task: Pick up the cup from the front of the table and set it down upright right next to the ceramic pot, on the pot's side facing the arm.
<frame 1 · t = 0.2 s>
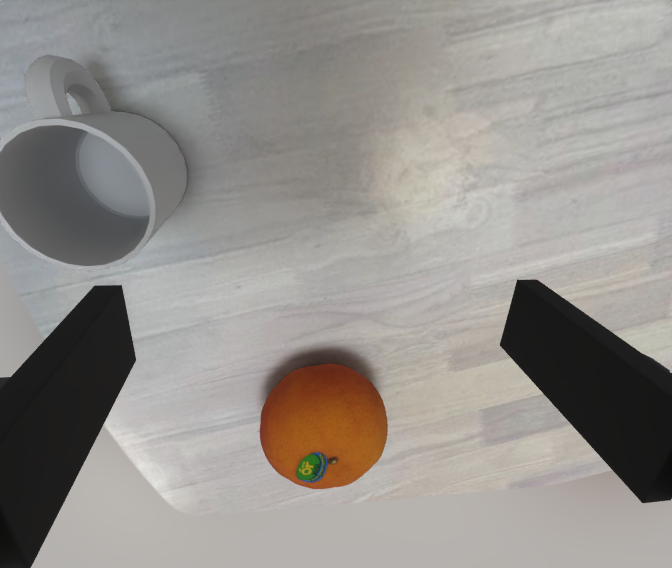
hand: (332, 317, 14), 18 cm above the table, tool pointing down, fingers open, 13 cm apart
fruit: (318, 390, 38), on the table
cup: (125, 147, 26), on the table
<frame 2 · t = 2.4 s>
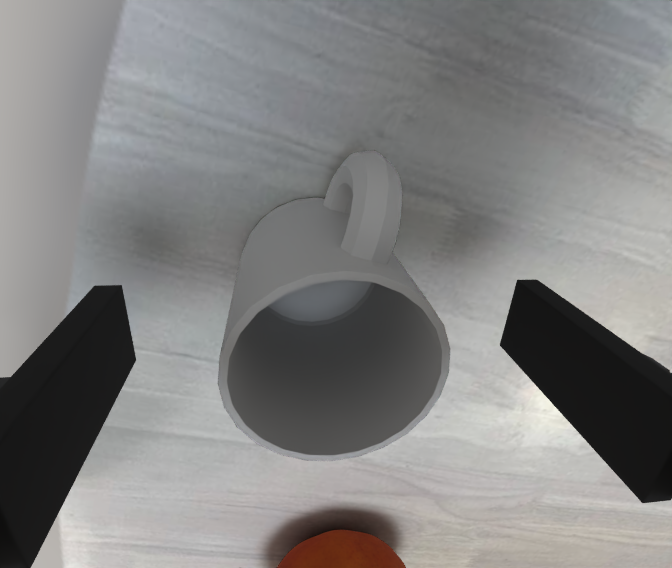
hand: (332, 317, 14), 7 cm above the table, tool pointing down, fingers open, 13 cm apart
fruit: (332, 547, 31), on the table
cup: (321, 238, 20), on the table
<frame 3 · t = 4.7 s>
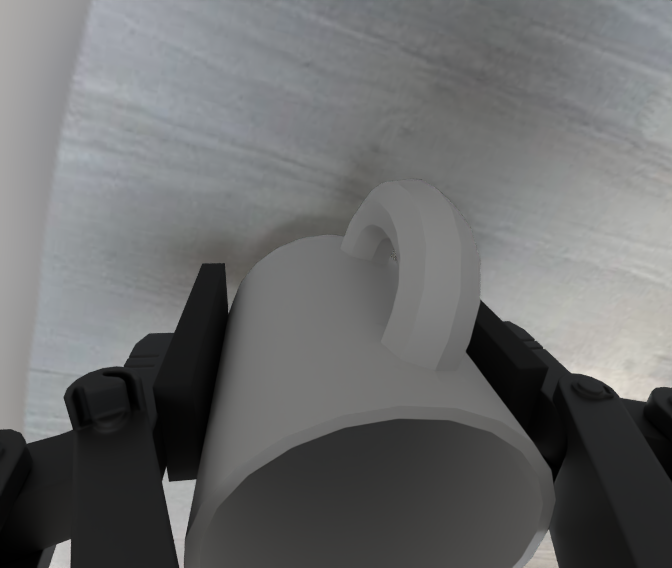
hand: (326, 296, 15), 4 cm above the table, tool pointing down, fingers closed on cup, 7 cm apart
cup: (334, 284, 15), point 3 cm above the table, touching gripper
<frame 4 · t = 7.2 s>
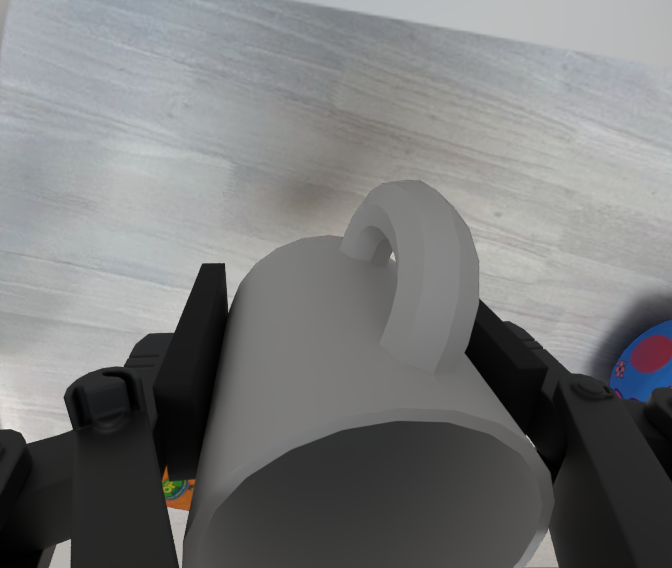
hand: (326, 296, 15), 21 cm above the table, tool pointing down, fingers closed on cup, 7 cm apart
fruit: (203, 421, 43), on the table
cup: (333, 285, 15), point 20 cm above the table, touching gripper
ceramic pot: (645, 354, 48), on the table
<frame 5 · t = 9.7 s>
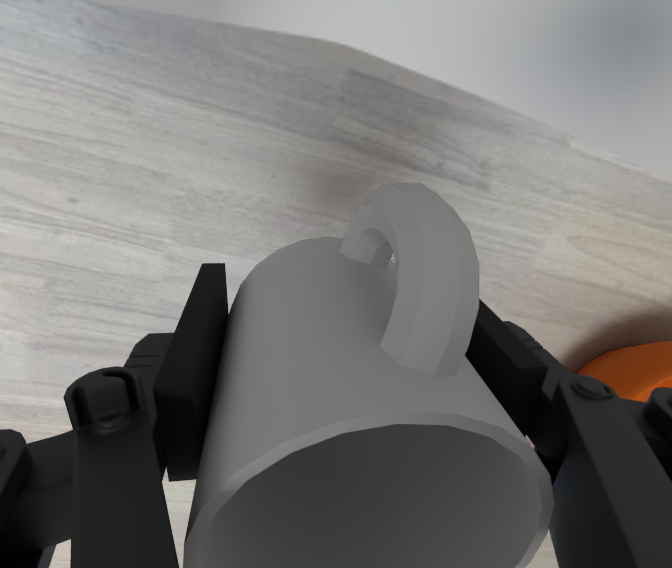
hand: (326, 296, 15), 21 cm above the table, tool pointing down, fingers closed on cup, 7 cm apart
bowl: (608, 391, 51), on the table
cup: (334, 287, 15), point 21 cm above the table, touching gripper
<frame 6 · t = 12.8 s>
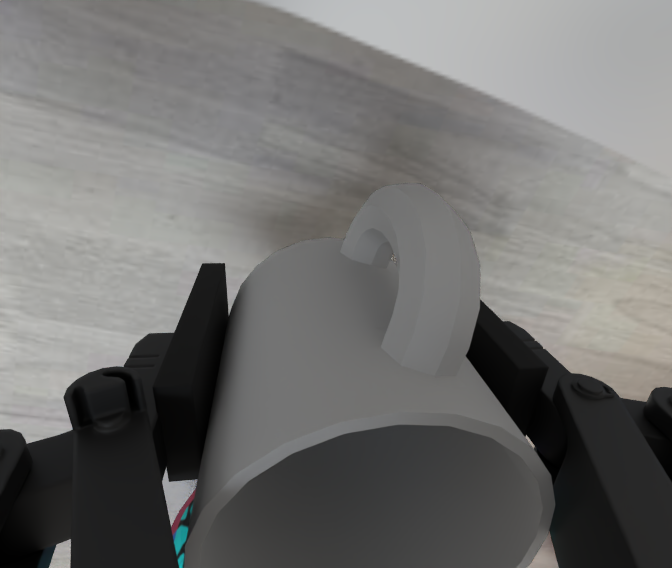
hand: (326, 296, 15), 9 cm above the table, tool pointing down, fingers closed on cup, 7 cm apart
cup: (334, 287, 15), point 8 cm above the table, touching gripper
ceramic pot: (301, 463, 31), on the table
when the fingers open (0 cm above the table, at t = 15.0 s): cup stays where it is, on the table.
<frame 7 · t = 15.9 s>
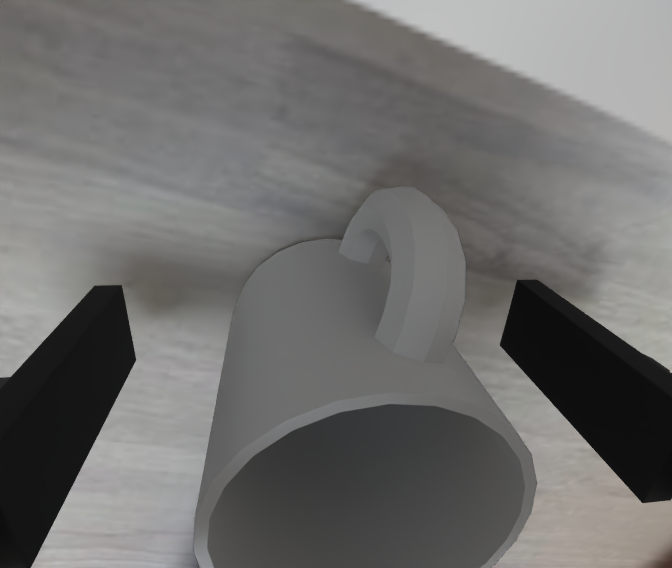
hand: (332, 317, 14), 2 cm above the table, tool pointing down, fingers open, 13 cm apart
cup: (333, 286, 16), on the table
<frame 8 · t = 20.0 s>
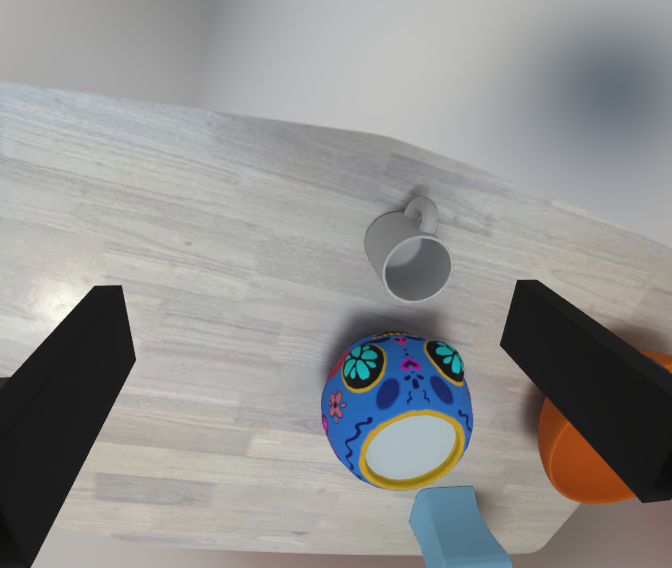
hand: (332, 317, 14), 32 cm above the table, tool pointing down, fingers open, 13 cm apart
vase: (439, 505, 70), on the table
bowl: (584, 390, 63), on the table
cup: (397, 229, 47), on the table
ceramic pot: (378, 363, 55), on the table
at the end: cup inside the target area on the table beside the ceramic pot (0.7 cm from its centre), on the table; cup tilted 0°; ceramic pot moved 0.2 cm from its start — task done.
